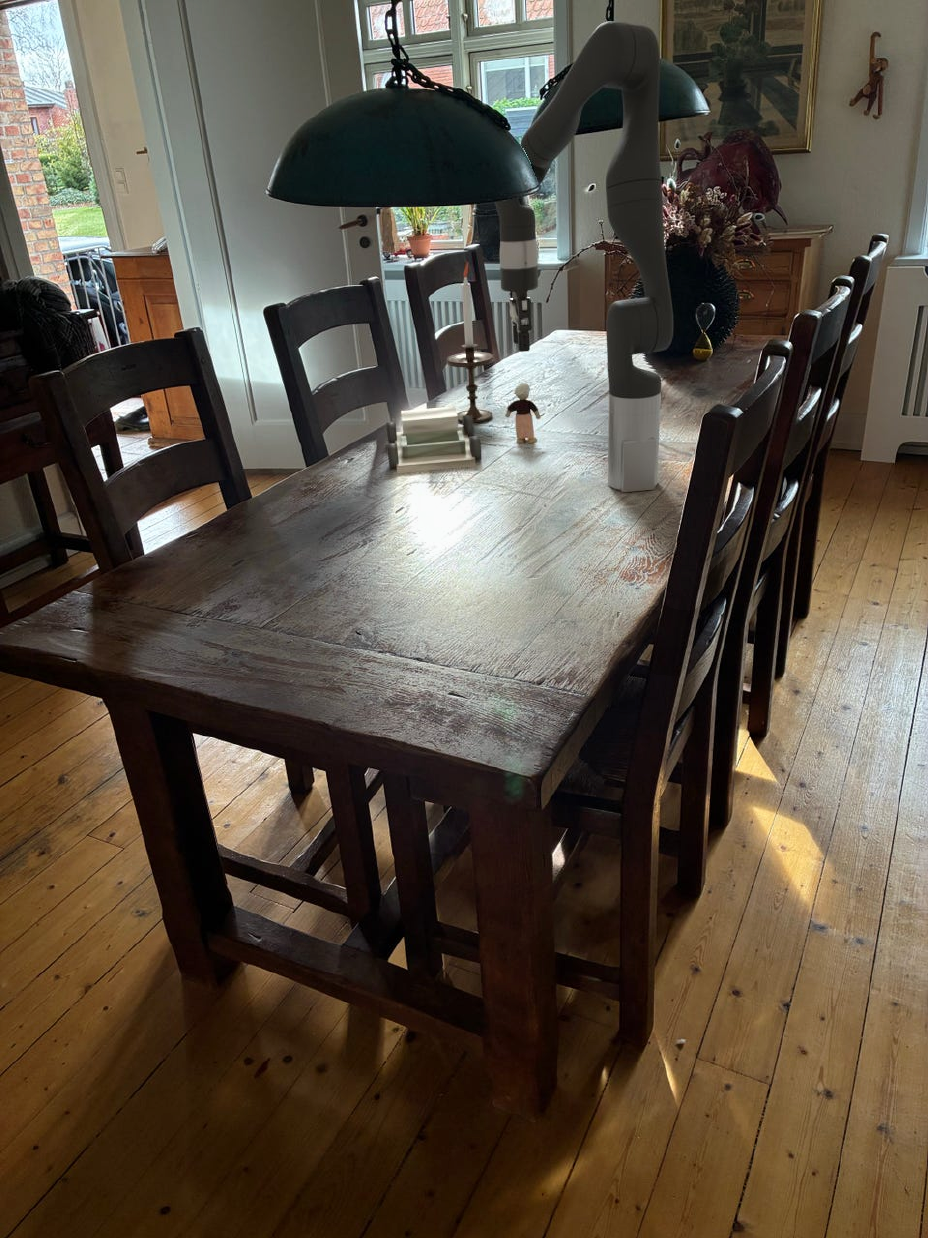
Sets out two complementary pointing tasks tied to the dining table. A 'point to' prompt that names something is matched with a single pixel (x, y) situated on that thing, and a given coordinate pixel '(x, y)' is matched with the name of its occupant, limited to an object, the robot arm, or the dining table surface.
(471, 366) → the candlestick
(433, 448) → the chassis
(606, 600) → the dining table surface
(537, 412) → the grandmother figurine
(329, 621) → the dining table surface
